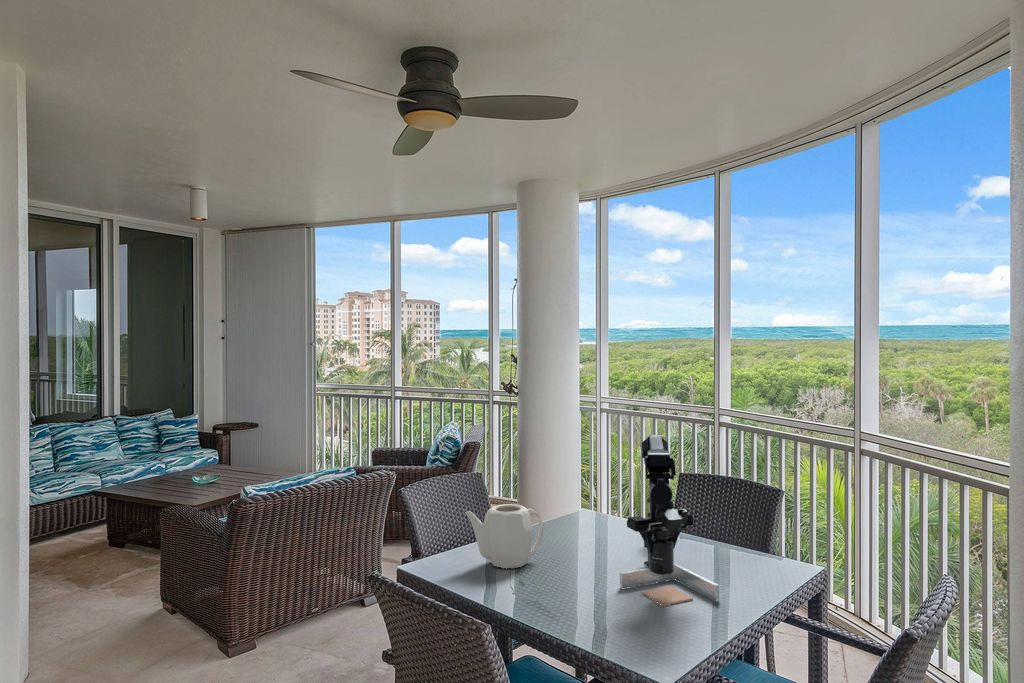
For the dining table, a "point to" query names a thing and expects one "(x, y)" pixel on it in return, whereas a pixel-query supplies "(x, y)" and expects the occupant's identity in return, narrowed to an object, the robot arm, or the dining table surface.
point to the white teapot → (506, 535)
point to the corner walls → (679, 574)
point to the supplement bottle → (661, 552)
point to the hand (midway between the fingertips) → (661, 551)
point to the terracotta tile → (667, 595)
